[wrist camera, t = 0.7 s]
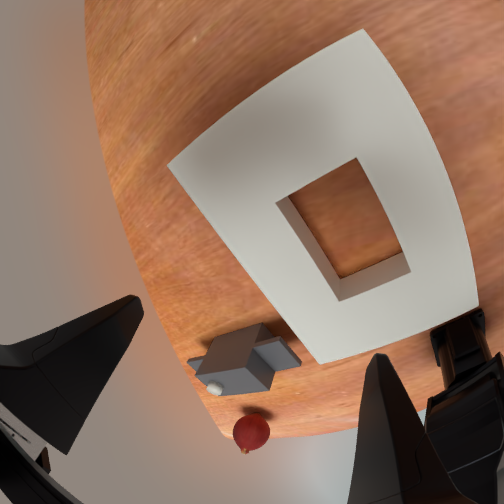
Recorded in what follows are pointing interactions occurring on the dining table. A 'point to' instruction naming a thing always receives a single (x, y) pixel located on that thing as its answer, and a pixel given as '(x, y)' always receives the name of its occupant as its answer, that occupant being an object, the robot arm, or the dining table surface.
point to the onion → (251, 432)
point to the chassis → (313, 167)
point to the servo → (243, 361)
